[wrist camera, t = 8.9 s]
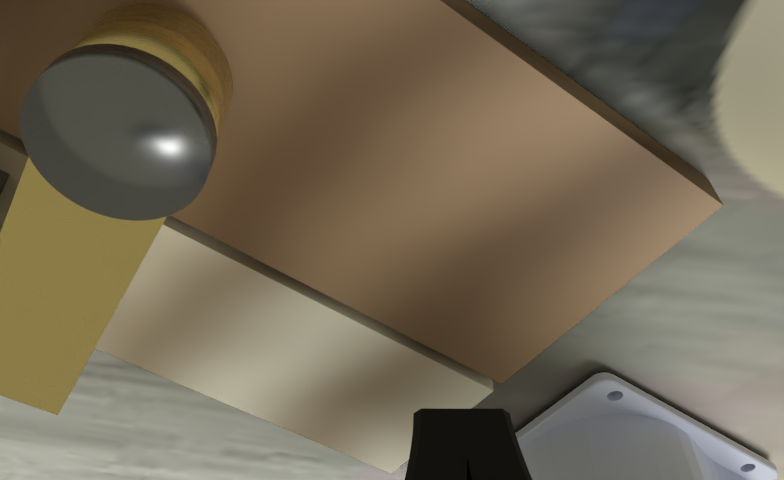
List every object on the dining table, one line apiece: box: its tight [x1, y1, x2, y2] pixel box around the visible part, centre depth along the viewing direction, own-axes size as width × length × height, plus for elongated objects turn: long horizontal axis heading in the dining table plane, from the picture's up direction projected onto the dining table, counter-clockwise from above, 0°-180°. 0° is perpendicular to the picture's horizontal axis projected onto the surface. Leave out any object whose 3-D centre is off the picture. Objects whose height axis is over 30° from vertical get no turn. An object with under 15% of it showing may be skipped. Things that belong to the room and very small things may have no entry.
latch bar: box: [0, 3, 233, 415], centre depth 17 cm, size 12×4×3 cm, turn 147°
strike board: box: [0, 0, 723, 473], centre depth 19 cm, size 18×15×4 cm
